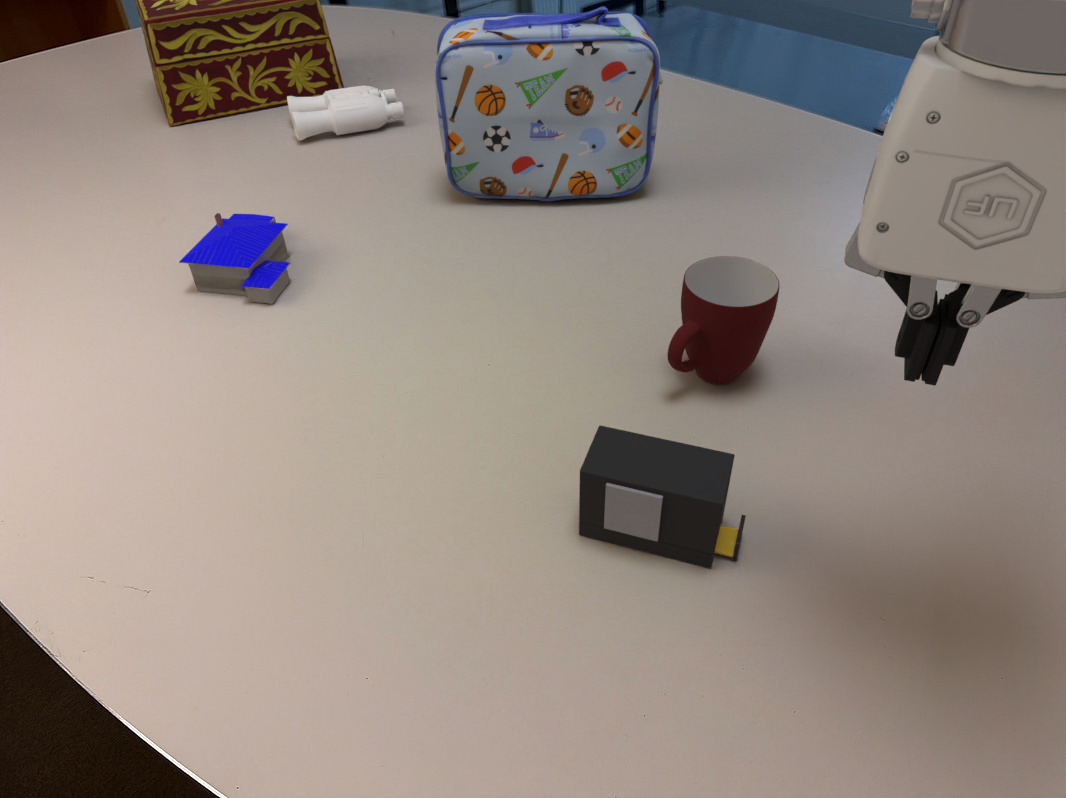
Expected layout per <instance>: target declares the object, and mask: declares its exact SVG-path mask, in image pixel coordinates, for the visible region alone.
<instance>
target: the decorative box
mask: <svg viewBox="0 0 1066 798" xmlns="http://www.w3.org/2000/svg"><path fill="white" fill-rule="evenodd" d="M134 2H135V5H136V10H137V13H138V18H139V21H140V27H141V30H142V31H141V32H142V35H143V38H144V39H143V40H144V43H145V48H146V52H147V56H148V59H149V63H150V64H149V65H150V68H151V73H152V77H153V80H154V84H155V89H156V92H157V94H158V97H159V100H160V103H161V107H162V110H163V112H164V116H165V118H166V121H167V124H168V125H169V127H170V126H171V127H172V126H180V125H185V124H191V123H195V122H201V121H207V120H212V119H216V118H222V117H227V116H232V115H238V114H242V113H249V112H253V111H254V112H255V111H259V110H264V109H269V108H275V107H279V106H285V105H288V102H287V96H294V97H316V96H320V95H323V94H324V93H325V91H329V90H335V89H341V88H345V86H344V82H343V79H342V75H341V71H340V67H339V63H338V60H337V57H336V53H335V50H334V45H333V43H332V39H331V37H330V32H329V28H328V23H327V21H326V17H325V13H324V10H323V7H322V2H321V0H134Z"/></svg>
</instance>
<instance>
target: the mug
mask: <svg viewBox="0 0 1066 798" xmlns="http://www.w3.org/2000/svg"><path fill="white" fill-rule="evenodd" d="M780 285H781V284H780V281H779V278H778V277H777V275H776V274H775V272H774V271H773V270H771V269H770V268H769V267H768V266H766V265H764V264H763V263H760V262H758V261H755V260H752V259H750V258H747V257H746V258H745V257H740V256H733V255H732V256H731V255H719V256H711V257H707V258H704V259H701V260H698V261H696V262H694V263H692V264H691V265H690V266H689V267H688V268H687V269H686V270H685V271H684V274H683V279H682V286H681V293H680V294H681V295H680V314H681V322H682V323H681V324H682V325H681V326H679V327H678V328H677V329H676V331H675V332H674V334H673V335H672V337H671V339H670V341H669V345H668V348H667V361H668V364H669V365H670V367H671V368H673V370H675V371H677V372H680V373H685V374H686V373H690V372H693V371H694V372H695V374H696V375H697V376H698V378H700V379H701V380H702V381H703V382H705V383H709V384H712V385H717V386H719V385H722V386H723V385H729V384H732V383H734V382H735V381H736V380H738V379H739V378H740V377H741V376H742V375H743V374H744V373H745V372H746V371H747V370H748V369H749V368H750V367H751V366H752V364H753V363H754V361H755V360H756V358H757V357H758V355H759V352H760V350H761V348H762V346H763V344H764V341H765V339H766V337H767V333H768V332H769V329H770V326H771V324H772V322H773V320H774V315H775V312H776V310H777V305H778V300H779V294H780V287H781V286H780ZM684 352H685V353H686V356H687V359H686V360H683V355H684Z"/></svg>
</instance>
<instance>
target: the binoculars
mask: <svg viewBox="0 0 1066 798" xmlns="http://www.w3.org/2000/svg"><path fill="white" fill-rule="evenodd" d="M287 102H288V104H287V107H288V112H289V117H290V121H291V123H292V128H293V130H294V134H295V137H296V139H297V141H298V142H299V141H304V140H305V139H307V138H309V137H310V138H311V137H313V136H316V135H320V134H323V133H329V132H333V133H335V134H336V136H343V135H348V134H355V133H362V132H367V131H368V132H369V131H372V130H373V131H375V130H378V129H380V128H383V126H385V125H386V124H387V123H388V121H390V120H391V119H392V121H393V120H397V119H404V118H405V109H404V105H403V103H402V101H397V95H396V90H395V89H394V88H387V89H382V90H381V89H378V88H377V87H373V86H371V85H366V84H365V85H356V86H350V87H344V88H341V89H335V90H329V91H325V93H324V94H323V95H320V96H316V97H294V96H287Z"/></svg>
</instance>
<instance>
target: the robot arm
mask: <svg viewBox="0 0 1066 798" xmlns="http://www.w3.org/2000/svg"><path fill="white" fill-rule="evenodd" d="M908 18H909V19H924V20H926V23H929V24H934V25H935V31H940V34H939V35H936V36H935V35H934V36H931V37H929V38H927V39H925V40H924V41H923V42H922V43H921V46H920V47H919V49H918V51H917V53H916V55H915V57H914V59H913V61H912V63H911V65H910V67H909V70H908V71H907V73H906V75H905V77H904V80H903V82H902V85H901V87H900V91H899V92H898V96H897V98H896V101H895V102H894V105H893V108H892V110H891V112H890V115H889V118H888V120H887V122H886V126H885V129H884V132H883V135H882V137H881V140H880V143H879V146H878V150H877V151H876V152H877V153H876V155H875V159H874V161H873V165H872V168H871V171H870V174H869V178H868V182H867V184H866V188H865V191H864V196H863V202H862V209H861V214H860V218H859V219H860V220H859V222H858V224H857V226H856V228H855V230H854V231H853V233H852V234H851V237H849V240H848V241H847V244H846V246H845V250H844V258H843V261H844V264H845V265H846V266H847V267H849V268H851V269H853V270H857V271H859V272H861V273H865V274H867V275H870V276H872V277H874V278H878V277H879V278H881V279H884V281H885V282H886V284H887V285H888V286H889V287H890V288H891V290H892V291H893V292H894V294H896V296H897V297H898V298H899V300H900V301H901V302H902V304H903V305H904V306H905V307H906V309H905V312H904V315H903V319H902V322H901V325H900V328H899V331H898V333H897V337H896V341H895V345H894V357H897V358H903V360H904V362H903V363H904V364H903V372H904V373H903V381H906V382H913V383H914V382H916V381H919V380H920V379H921V381H922V382H924V385H930V386H936V385H937V384H938V381H939V378H940V375H941V373H942V371H943V368H944V366H947V367H948V366H949V367H954V366H955V365H956V363H957V361H958V358H959V356H960V353H961V351H962V349H963V346H964V343H965V340H966V338H967V335H968V333H969V330H970V328H975V327H977V326H978V325H979V326H980V324H981V323H982V322H983V320H984V319H985V317H986V316H988V315H991V314H992V313H994V312H996V311H998V310H1001V309H1003V308H1005V307H1008V306H1010V305H1011V304H1014V303H1016V302H1019V301H1020V300H1021V299H1027V300H1046V299H1047V300H1049V299H1050V300H1051V299H1066V0H912V1H911V6H910V10H909V14H908ZM938 281H944V282H945V281H946V282H952V283H956V285H955V287H954V290H953V291H950V292H949V293H945V294H944V296H943V298H940V299H938V295H939V294H938V291H937V285H938Z"/></svg>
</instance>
